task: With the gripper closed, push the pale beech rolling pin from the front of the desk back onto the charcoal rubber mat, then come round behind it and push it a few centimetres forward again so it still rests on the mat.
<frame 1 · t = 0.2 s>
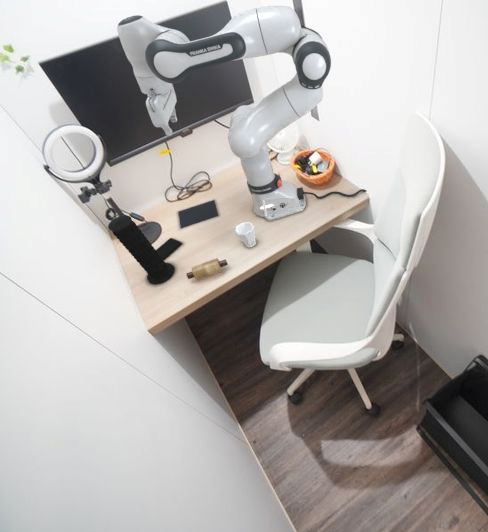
hand: (172, 128, 107), 39 cm above the table, tool pointing down, fingers open, 8 cm apart
handle grip: (161, 273, 118), on the table, touching smartphone
smartphone: (163, 253, 125), on the table, touching handle grip
cup: (248, 242, 124), on the table
mat: (198, 213, 139), on the table
rolling pin: (207, 269, 113), point 3 cm above the table, slide at 0.0 cm
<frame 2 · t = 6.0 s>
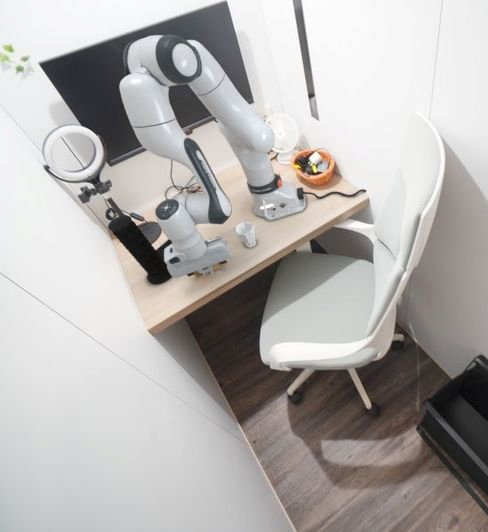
hand: (209, 273, 112), 3 cm above the table, tool pointing down, fingers closed, pressing on rolling pin
rolling pin: (206, 266, 114), point 3 cm above the table, slide at 1.3 cm, touching gripper
everything else where it was.
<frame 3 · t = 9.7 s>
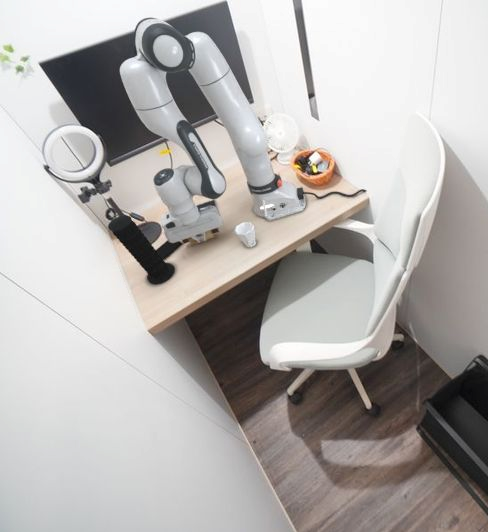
hand: (202, 240, 124), 3 cm above the table, tool pointing down, fingers closed
rolling pin: (200, 235, 125), point 3 cm above the table, slide at 19.8 cm, touching gripper
everything else where it was.
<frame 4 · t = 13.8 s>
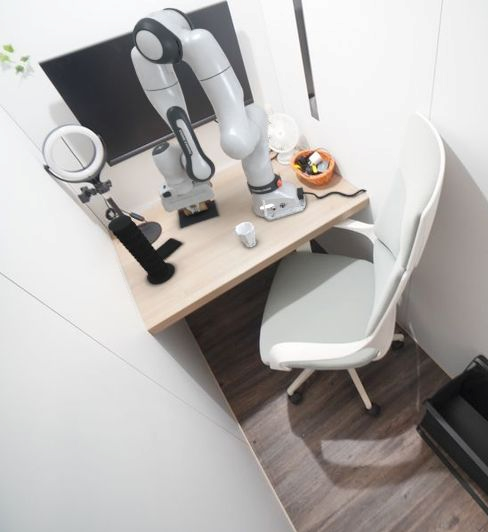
hand: (196, 211, 136), 3 cm above the table, tool pointing down, fingers closed, pressing on rolling pin
rolling pin: (195, 206, 138), point 3 cm above the table, slide at 39.7 cm, touching gripper
everything else where it was.
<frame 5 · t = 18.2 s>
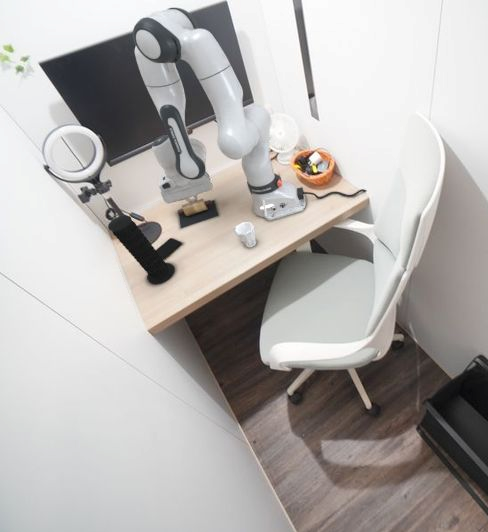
hand: (194, 203, 140), 3 cm above the table, tool pointing down, fingers closed
rolling pin: (195, 207, 138), point 3 cm above the table, slide at 39.3 cm, touching gripper
everything else where it was.
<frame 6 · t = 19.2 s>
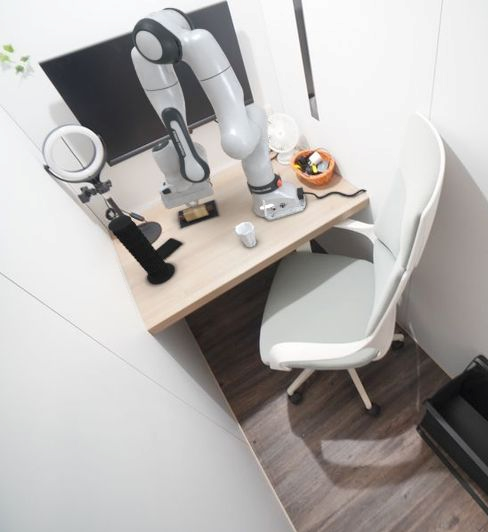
hand: (195, 208, 137), 3 cm above the table, tool pointing down, fingers closed, pressing on rolling pin
rolling pin: (196, 212, 135), point 3 cm above the table, slide at 35.2 cm, touching gripper
everything else where it was.
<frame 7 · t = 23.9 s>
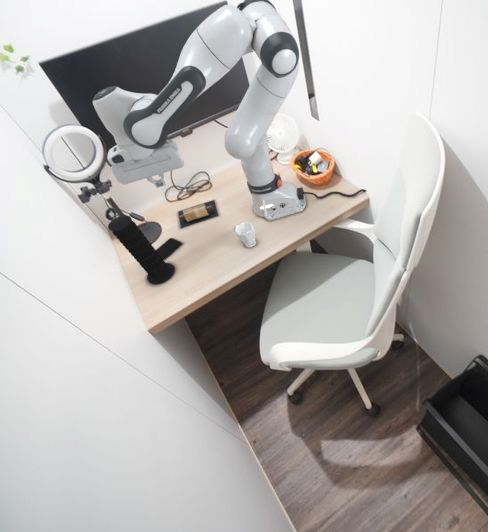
hand: (161, 185, 107), 27 cm above the table, tool pointing down, fingers closed
rolling pin: (196, 212, 135), point 3 cm above the table, slide at 35.2 cm
everything else where it was.
at the end: rolling pin pulled out 39.8 cm at the most during the clip, back to 35.2 cm at the end; rolling pin slide at 35.2 cm; rolling pin 3.1 cm from the mat (horizontally) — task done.
